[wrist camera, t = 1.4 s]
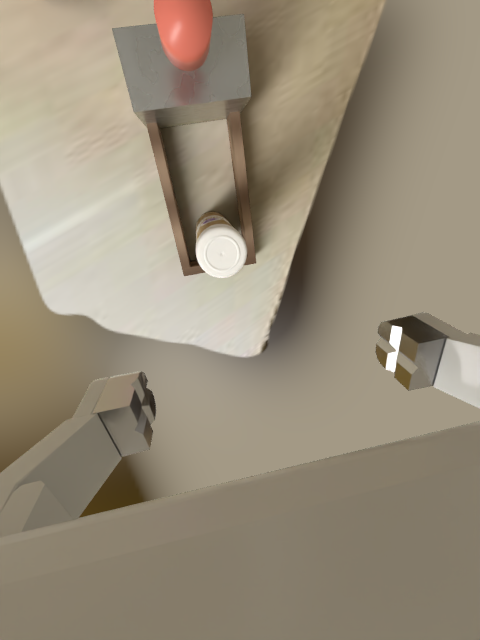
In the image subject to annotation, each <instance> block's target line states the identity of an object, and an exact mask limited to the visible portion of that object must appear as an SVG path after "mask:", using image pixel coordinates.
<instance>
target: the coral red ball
mask: <svg viewBox="0 0 480 640" xmlns="http://www.w3.org/2000/svg"><path fill="white" fill-rule="evenodd" d="M154 13H155V18H156V23H157V27H158V31H159V36H160V40H161V44H162V48H163V50H164V53H165V55H166V56H167V58H168V59H169V61H170V62H171V63H172V64H173V65H174V66H175V67H177V68H178V69H180V70H183V71H194V70H197V69H198V68H200V67H201V66H202V65H203V64H204V62H205V61H206V59H207V56H208V53H209V48H210V39H211V31H212V22H213V14H212V6H211V2H210V0H154Z"/></svg>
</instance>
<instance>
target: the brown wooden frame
mask: <svg viewBox="0 0 480 640" xmlns="http://www.w3.org/2000/svg"><path fill="white" fill-rule="evenodd" d="M227 125H228V132H229V140H230V148H231V156H232V163H233V171H234V179H235V187H236V194H237V202H238V210H239V218H240V225H241V233H242V237H243V239H244V240H245V243H246V246H247V258H246V261H245V264H244V265H249V264H254V263H256V257H255V248H254V239H253V230H252V220H251V211H250V202H249V193H248V184H247V175H246V165H245V156H244V147H243V138H242V129H241V120H240V111H237V112H230V113H229V115H228V117H227ZM147 129H148V133H149V137H150V141H151V145H152V149H153V153H154V157H155V161H156V165H157V169H158V173H159V177H160V181H161V185H162V189H163V193H164V197H165V201H166V205H167V209H168V213H169V217H170V221H171V225H172V229H173V233H174V237H175V242H176V246H177V250H178V254H179V258H180V262H181V266H182V270H183V274H184V276H188V275H193V274H199V273H204V272H205V271H204V270H203V269H202V268H201V267H200V265H199V263H198V260H194V261H190V258H189V253H188V249H187V245H186V240H185V236H184V231H183V227H182V223H181V218H180V214H179V210H178V205H177V201H176V197H175V192H174V188H173V184H172V179H171V175H170V170H169V166H168V162H167V157H166V153H165V149H164V144H163V140H162V136H161V131H160V128H159V126H158V124H157V123H149V124H147Z"/></svg>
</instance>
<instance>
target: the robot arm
mask: <svg viewBox="0 0 480 640" xmlns="http://www.w3.org/2000/svg"><path fill="white" fill-rule="evenodd" d="M378 334H379V335H380V337H381V338H380V339H379V341H378V342H377V343H376V355H377V359H378V360H379V362H380V364H381V365H382V366H383V367H384V368H385V369H387V370H390V371H392V372H394V378H396V379H397V380H398V381H399V382H400V383H401V384H402V385H403V386H404V387H405V388H406V389H407V390H408V391H409V390H414V389H419V388H424V387H430V386H434V387H435V388H437V389H439V390H441V391H443V392H445V393H447V394H450V395H452V396H454V397H456V398H458V399H460V400H463V401H465V402H467V403H469V404H471V405H473V406H476V407H478V408H480V335H478V334H473V333H469V334H466V333H464V332H462V331H460V330H458V329H456V328H455V327H452V326H451V325H449V324H447V323H445V322H443V321H442V320H439V319H438V318H436V317H434V316H432V315H430V314H428V313H418V314H414V315H410V316H407V317H403V318H398V319H393V320H389V321H384V322H381V323H380V325H379V327H378ZM147 382H148V380H147V378H146V375H145V373H144V372H142V371H139V372H133V373H128V374H122V375H117V376H111V377H106V378H101V379H96V380H94V381H92V382H91V384H90V386H89V388H88V390H87V391H86V393H85V395H84V397H83V399H82V401H81V403H80V405H79V406H78V408H77V410H76V412H75V414H74V416H73V418H72V419H68V420H66V421H65V422H63V423H62V424H61V425H60V426H58V427H57V428H56V429H55V430H53V431H52V432H51V433H50V434H48V435H47V436H46V437H45V438H43V439H42V440H41V441H40V442H39V443H37V444H36V445H35V446H33V447H32V448H31V449H30V450H28V452H26V453H25V454H23V455H22V456H21V457H20V458H18V459H17V460H16V461H15V462H14V463H12V464H11V465H10V466H9V467H7V468H6V469H5V470H4V471H2V472H1V473H0V640H480V421H478V422H474V423H470V424H466V425H461V426H458V427H453V428H449V429H445V430H441V431H437V432H432V433H428V434H424V435H420V436H416V437H412V438H409V439H404V440H399V441H395V442H392V443H388V444H383V445H379V446H375V447H371V448H367V449H363V450H358V451H354V452H350V453H346V454H342V455H338V456H333V457H329V458H325V459H321V460H317V461H313V462H309V463H305V464H300V465H297V466H292V467H288V468H284V469H280V470H276V471H271V472H267V473H263V474H259V475H255V476H251V477H247V478H242V479H238V480H235V481H230V482H226V483H222V484H218V485H214V486H209V487H206V488H201V489H197V490H193V491H189V492H185V493H180V494H176V495H172V496H168V497H164V498H160V499H156V500H152V501H147V502H143V503H140V504H135V505H131V506H127V507H123V508H119V509H114V510H111V511H106V512H102V513H98V514H94V515H90V516H86V517H81V518H78V517H79V516H80V515H81V513H82V512H83V511H84V509H85V508H86V506H87V505H88V504H89V502H90V501H91V500H92V498H93V497H94V496H95V494H96V493H97V491H98V490H99V489H100V487H101V486H102V485H103V483H104V482H105V480H106V479H107V478H108V476H109V475H110V474H111V472H112V471H113V469H114V468H115V467H116V465H117V464H118V462H119V461H120V460H121V457H122V456H126V455H130V454H134V453H138V452H142V451H146V450H150V446H151V440H152V434H153V430H152V427H151V424H152V422H153V421H154V420H155V416H156V404H155V399H154V395H153V393H152V391H151V390H149V389H148V388H146V386H147Z"/></svg>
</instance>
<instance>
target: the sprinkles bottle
mask: <svg viewBox="0 0 480 640" xmlns="http://www.w3.org/2000/svg"><path fill="white" fill-rule="evenodd" d="M196 241H197V243H196V257H197V260H198V263H199V265H200V267H201V268H202V269H203V270H204V271H205V272H206V273H208V274H209V275H211V276H214V277H218V278H226V277H230V276H232V275H234V274H236V273H237V272H238V271H239V270H240V269H241V268H242V267H243V265H244V264H245V261H246V258H247V246H246V243H245V240H244V239H243V237H242V236H241V234H240V233H239V232H238V231H237V230H236V229H235V228H233V227H232V225H231V224H230V223H229V222H228V221H227V219H226V218H225V217H224V216H223V215H222V214H220V213H217V212H208V213H205V214H204V215H202V216H201V217H200V218H199V220H198V221H197V224H196Z"/></svg>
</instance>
